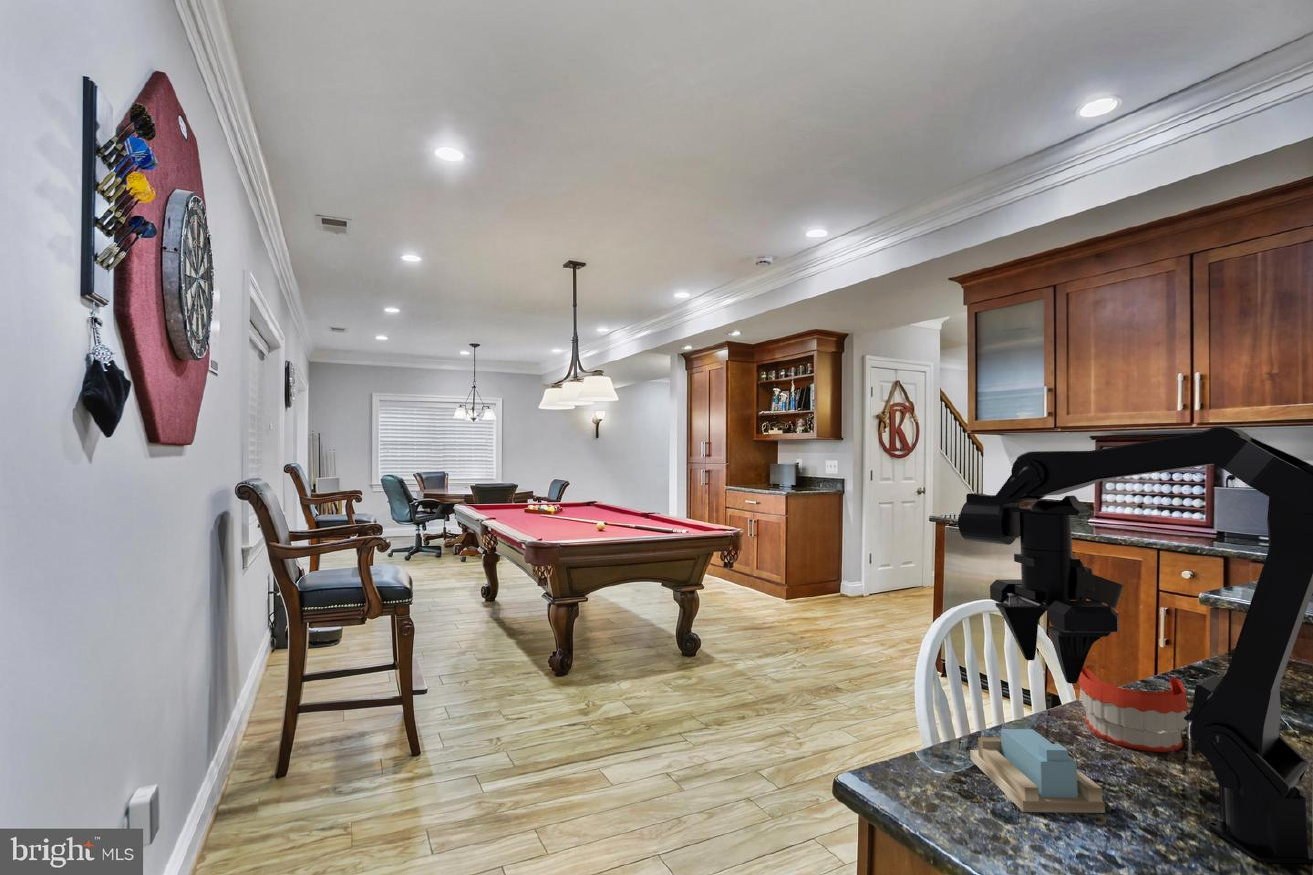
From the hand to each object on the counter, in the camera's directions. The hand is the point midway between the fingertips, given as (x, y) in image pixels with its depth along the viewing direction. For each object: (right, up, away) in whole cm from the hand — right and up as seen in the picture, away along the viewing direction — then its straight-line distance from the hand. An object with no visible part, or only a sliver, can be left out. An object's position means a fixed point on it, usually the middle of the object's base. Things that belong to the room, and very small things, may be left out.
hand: (1049, 670), depth 83 cm
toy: (+17, -13, +8) cm, 23 cm away
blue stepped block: (-5, -11, -5) cm, 13 cm away
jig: (-5, -12, -4) cm, 14 cm away
